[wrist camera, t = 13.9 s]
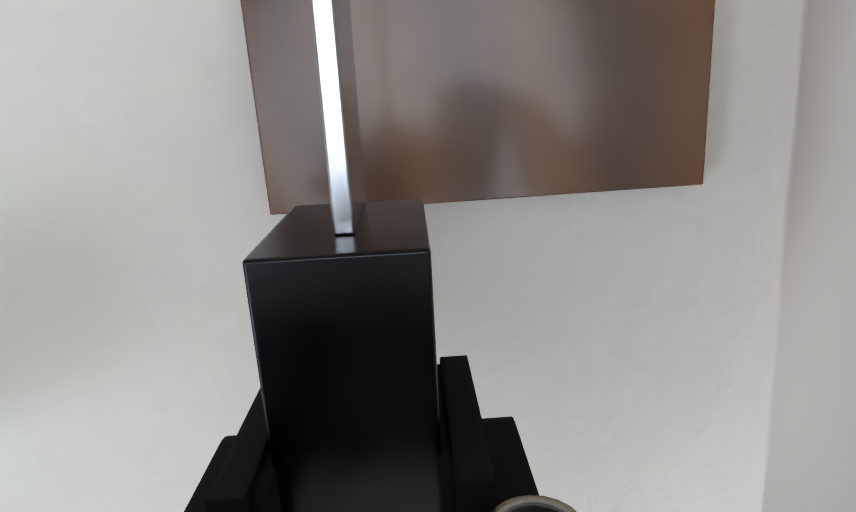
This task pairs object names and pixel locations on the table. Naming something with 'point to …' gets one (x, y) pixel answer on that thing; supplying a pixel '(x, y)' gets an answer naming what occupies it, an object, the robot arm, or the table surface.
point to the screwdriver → (347, 325)
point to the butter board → (490, 97)
